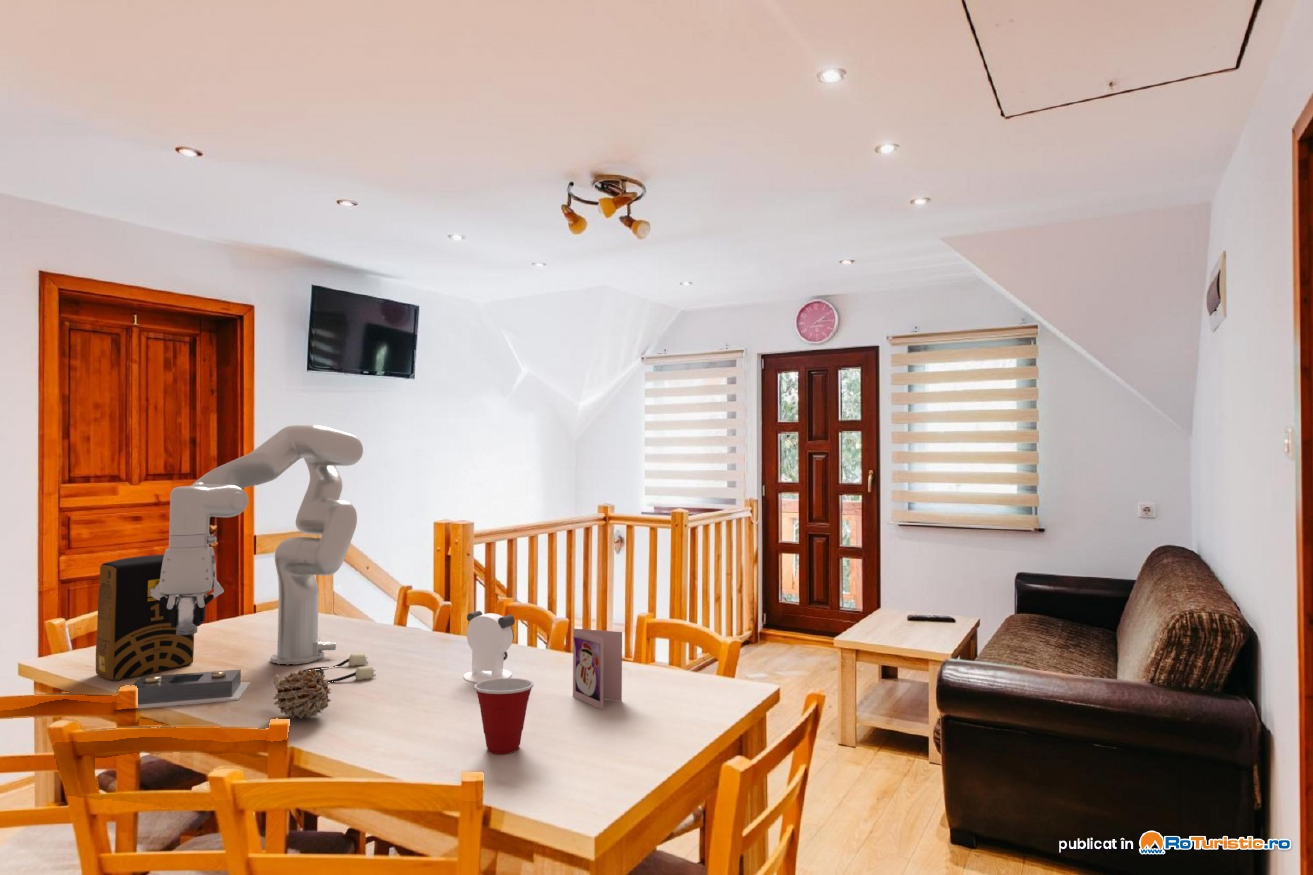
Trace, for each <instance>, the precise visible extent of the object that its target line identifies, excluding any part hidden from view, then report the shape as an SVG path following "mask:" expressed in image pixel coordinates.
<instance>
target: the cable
mask: <svg viewBox="0 0 1313 875" xmlns="http://www.w3.org/2000/svg"><path fill="white" fill-rule="evenodd" d="M368 659H369V657H368V656H366V654H365V653H352V654H350V655H349V657H348V658H347V659H345V660H343V661H342V662H339V663H337V664H336V665H333V666H332V667H335V666H340V667H342V666H343V665H345V664H347V663H348V665H349V667H356V666H355V665H362V666H357V667H356V669H355V672H352V673H350V674H347V675H344V676H341V677H337V678H334V679H328V680H329V681H328V682H332V681H333V683H335V682H334V681H337V682H341V681H344V680H347V679H349V678H353V677H354V678H355V679H356V681H364V680H363V679H366V680H371V679H370V678H372V679H373V678H374V677H375V678H376V677H377V674H376V673H375V672H376V670H377V669H374V668H373V666H372V665H371V666H368V665H367V666H365V665H366V664H369V660H368ZM329 667H330V666H318V667H317V666H316V667H309V668H306V669H303V670H302V671H303V672H305V671H306V670H312V669H321V668H329ZM316 672H320V675H321V676H323V675H324V674H325V671H324V670H316Z"/></svg>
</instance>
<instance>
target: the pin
mask: <svg viewBox="0 0 1313 875" xmlns="http://www.w3.org/2000/svg"><path fill="white" fill-rule="evenodd" d="M196 608H198V600H197V595H196V594H194V595H183V596H178V597H177V616H176V634H177V635H189V634H194V635H195V634H197V633H198V627H199V626H195V615H196Z"/></svg>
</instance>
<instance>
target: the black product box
mask: <svg viewBox="0 0 1313 875" xmlns="http://www.w3.org/2000/svg"><path fill="white" fill-rule="evenodd" d="M163 557H164V554H153V555H152V554H151V555H144V556H143V555H141V556H135V557H127V558H121V559H116V560H113V561H108V562H103V563H102V564H101V565H100V567H99V585H98V586H99V587H98V595H97V625H96V626H97V627H96V640H95V641H96V642H95V673H96V675H97V676H99V677H100V678H101V677H102V678H104V679H107V680H110V681H113V682H115V681H121V680H125V679H126V680H127V679H131V678H136V677H142V676H145V675H151V674H155V672H156V673H160V672H163V671H168V670H173V669H177V668H181V667H185V666H189V665H191V664H193V663H194V653H195V652H194V650H195V648H194V647H195V633H194V634H189V635H177V634H176V627H173V628H171V623H169V609H167V607H166V606H165V605H164V604H163V603H162V602H161V601H160V600H157V599H155V598H153V597H152V596H151V593H152V591H153V590H154V589H155V588H156V586H157V585H158V584H159V582H160V576H161V568H162V562H163ZM164 595H165V594H164ZM185 595H195V594H185ZM166 596H168V597H169V595H166ZM179 596H183V595H179Z"/></svg>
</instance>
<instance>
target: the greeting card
mask: <svg viewBox="0 0 1313 875" xmlns="http://www.w3.org/2000/svg"><path fill="white" fill-rule="evenodd" d="M572 630H573V632H572V633H573V636H572V638H573V639H572V640H573V642H572V645H573V647H572V648H573V649H572V652H573V653H572V697H573V698H575V699H578V700H581V701H582V702H585V703H586V704H589V705H591V706H594V707H596V708H597V709H601V710H603V711H604V700H606V701H608V700H609V701H610V700H611V701H617V702H622V700H623V698H622V697H623V696H622V694H623V688H622V687H623V686H622V685H623V632H622V631H615V630H614V631H613V630H599V629H587V628H586V629H585V628H573V629H572Z"/></svg>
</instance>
